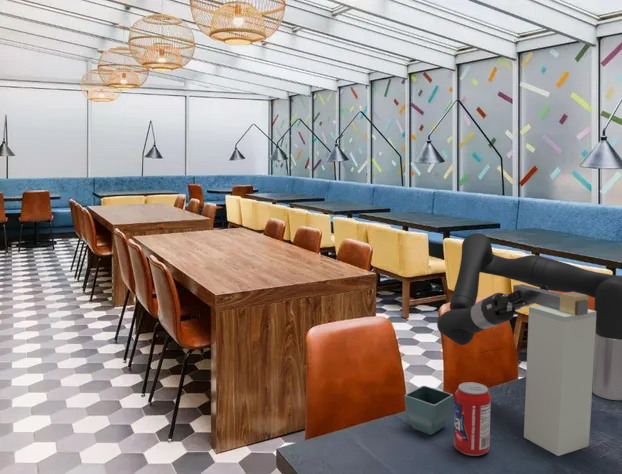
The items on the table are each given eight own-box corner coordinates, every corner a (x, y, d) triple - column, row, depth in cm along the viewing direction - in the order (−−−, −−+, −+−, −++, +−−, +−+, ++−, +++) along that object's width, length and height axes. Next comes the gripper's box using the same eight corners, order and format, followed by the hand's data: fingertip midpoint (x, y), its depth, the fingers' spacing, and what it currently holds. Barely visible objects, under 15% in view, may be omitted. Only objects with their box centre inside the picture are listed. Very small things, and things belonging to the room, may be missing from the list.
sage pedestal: (553, 428, 143) (559, 301, 139) (588, 446, 134) (596, 311, 130) (523, 437, 139) (529, 306, 134) (558, 456, 130) (564, 316, 125)
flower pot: (453, 428, 144) (454, 394, 142) (434, 441, 137) (435, 405, 136) (422, 418, 150) (423, 384, 148) (403, 430, 143) (403, 395, 142)
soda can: (487, 461, 128) (489, 396, 126) (451, 454, 131) (452, 391, 129) (490, 445, 135) (492, 383, 133) (456, 439, 138) (457, 378, 136)
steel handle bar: (523, 295, 145) (524, 280, 144) (589, 313, 128) (590, 295, 128) (511, 297, 143) (512, 281, 143) (576, 315, 126) (577, 297, 126)
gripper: (517, 321, 154) (562, 303, 141) (475, 328, 148) (518, 310, 135) (507, 294, 157) (550, 274, 143) (466, 300, 151) (507, 279, 137)
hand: (535, 291), depth 139 cm, fingers open, 8 cm apart
